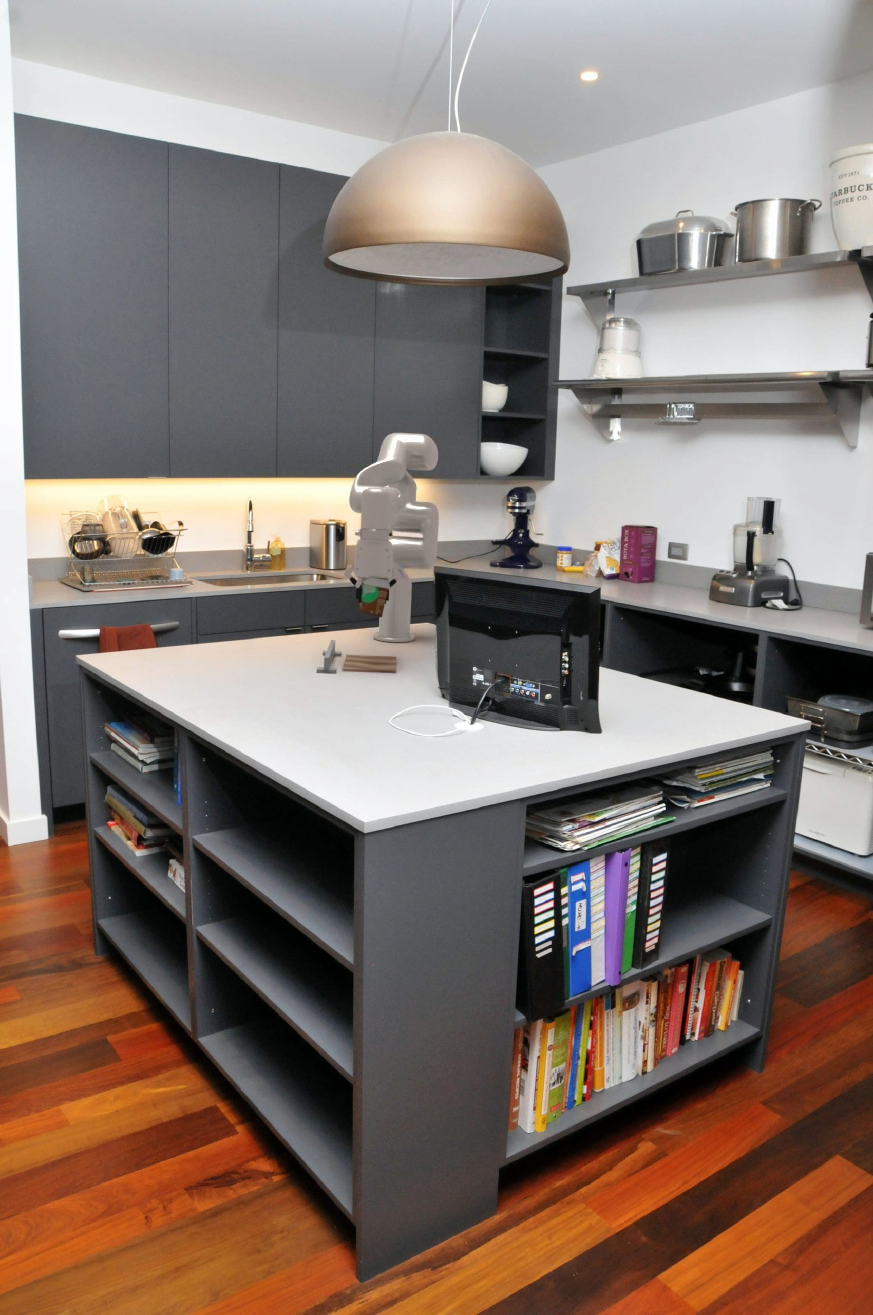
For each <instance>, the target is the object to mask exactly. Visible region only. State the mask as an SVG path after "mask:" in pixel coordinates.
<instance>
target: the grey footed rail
mask: <svg viewBox="0 0 873 1315" xmlns="http://www.w3.org/2000/svg"><path fill="white" fill-rule="evenodd" d="M342 654H343V652H342V651H340V650H337V651H336V640H335V639H331V640H330V642H329V644H328V647H327V650H323V652H322V655H323V657H324V658H323V666H317V668H316V673H321V674H324V673H325V674H336V673H337V672H338V670H337V667H332V664H333V660H334V657H342Z"/></svg>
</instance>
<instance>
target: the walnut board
mask: <svg viewBox="0 0 873 1315" xmlns="http://www.w3.org/2000/svg"><path fill="white" fill-rule="evenodd" d="M396 671H397V656H392V655H391V656H389V655H387V656H385V655H370V654H369V655H364V654H346V655H345V658H344V662H343V665H342V672H360V673H361V672H362V673H384V674H385V673H386V674H387V673H388V674H396V673H397V672H396Z"/></svg>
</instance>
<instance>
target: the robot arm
mask: <svg viewBox="0 0 873 1315" xmlns="http://www.w3.org/2000/svg"><path fill="white" fill-rule="evenodd" d="M438 460H439V450H438V447H437V444H436V443H435V441H434V440H433V439H432V438H431V437H430V436H429V435H427V434H424V433H408V432H392V433H390V434H388V435H386V437H385V438H384V439H383V440H382V444H381V446H380V450H379V454H378V457H377V460H376V462H374V463H372V464H370V465H369V466H367V467H365V468H363V469H362V470H361V471H360V472H358V473H357V475H356V476H355V478H354V480H353V483H352V486H351V489H350V492H349V498H348V499H349V500H348V502H349V507H350V509H351V510H352V511H353V512H354V513H357V514H360V528H359V529H356V530H355V531H354V536H357V537H360V539H357V541H356V547H355V553H354V561H353V564H352V565H351V566H349V567H348V569H346V570H345V572H343V574H344V577H346V578H347V579H348V580H349V581H350V582H351V584H352V585H354V587H355V592H356V593H355V600H358V601H357V602H358V604H360V603H361V592H362V588H361V585H362V583H361V581H362V579H363V578H366V579H367V578H368V577H373V578H377V579H383V580H388V581H390V582H389V589H388V591H387V596H386V601H385V606H384V610H383V615H382V617H378V618H379V622H378V632H375V633H373V639H374V640H376V641H381V642H387V643H409V642H412V641H414V640H415V638H416V637H415V635H414V634H412V633H411V613H412V612H411V610H412V608H411V607H412V588H413V584H412V580H411V577H410V576H409V574H408V573H407V572H406V570H405V569H414V570H430V569H432V568H434V566H435V564H436V561H437V553H438V541H439V539H438V538H439V527H440V526H439V524H440V515H439V514H440V512H439V509H438V507H437V505H436V504H434V503H433V502H429V501H417V500H416V499H417V498H416V497H417V488H418V487H417V484H416V481H415V479H414V478H413V476H412V475H411V474H410V473H409V472H408V470H409V471H410V470H412V471H433V470H435V468H436V466H437V464H438ZM390 530H391V531H393V532H396V533H408V534H421V535H422V537H416V536H414V537H413V536H404V535H403V536H401V535H390ZM352 572H353V574H354V576H355V577H356V578H357V579H356V578H355V577H354V576H353V575H352Z"/></svg>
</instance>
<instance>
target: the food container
mask: <svg viewBox="0 0 873 1315" xmlns="http://www.w3.org/2000/svg"><path fill="white" fill-rule="evenodd" d="M389 582H390V581H388V580H383V579H377V578H373V577H368V578H367V579H366V578H363V579H362V581H361V588H362V592H361V603H359V606H358V607H359V608H358V612H359V613H360V614H364V615H366V616H367V615H368V616H372V617H377V618H379V617H382V615H383V610H384V606H385V601H386V596H387V591H388V589H389Z"/></svg>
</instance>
